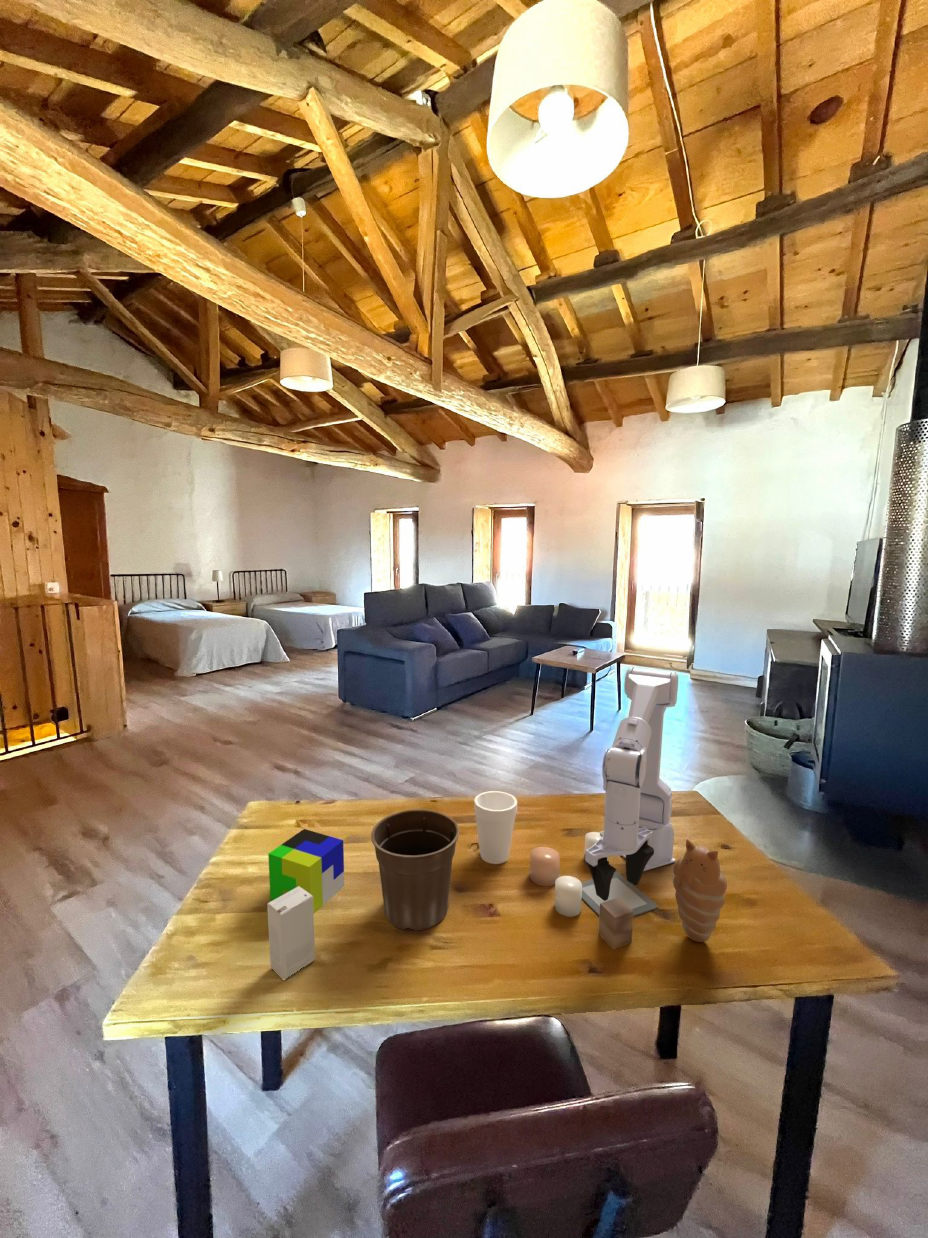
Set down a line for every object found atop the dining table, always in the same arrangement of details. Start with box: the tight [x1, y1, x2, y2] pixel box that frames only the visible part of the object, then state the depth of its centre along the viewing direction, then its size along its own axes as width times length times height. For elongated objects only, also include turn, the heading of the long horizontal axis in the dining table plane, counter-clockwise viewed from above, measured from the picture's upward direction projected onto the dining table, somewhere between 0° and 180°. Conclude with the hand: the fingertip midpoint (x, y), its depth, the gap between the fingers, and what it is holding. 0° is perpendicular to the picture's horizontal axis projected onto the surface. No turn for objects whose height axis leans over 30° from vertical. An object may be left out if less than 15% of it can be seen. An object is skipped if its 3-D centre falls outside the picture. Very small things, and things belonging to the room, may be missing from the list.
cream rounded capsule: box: [554, 875, 583, 918], centre depth 103 cm, size 5×5×5 cm
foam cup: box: [473, 790, 518, 865], centre depth 120 cm, size 10×9×13 cm
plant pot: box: [370, 808, 460, 932], centre depth 101 cm, size 16×16×16 cm
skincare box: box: [266, 886, 316, 980], centre depth 88 cm, size 6×4×12 cm
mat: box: [581, 871, 660, 918], centre depth 107 cm, size 12×12×1 cm
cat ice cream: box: [672, 839, 728, 943], centre depth 94 cm, size 9×8×18 cm
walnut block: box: [598, 898, 634, 950], centre depth 95 cm, size 4×4×6 cm
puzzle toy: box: [267, 828, 345, 915], centre depth 106 cm, size 10×10×10 cm
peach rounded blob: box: [529, 846, 560, 887], centre depth 113 cm, size 6×6×5 cm
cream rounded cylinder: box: [583, 831, 609, 861], centre depth 119 cm, size 5×5×5 cm
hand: (617, 890), depth 94 cm, fingers open, 7 cm apart
